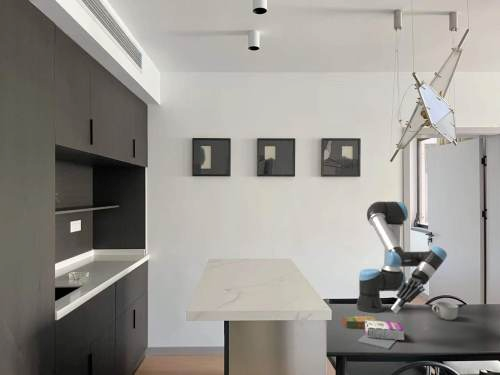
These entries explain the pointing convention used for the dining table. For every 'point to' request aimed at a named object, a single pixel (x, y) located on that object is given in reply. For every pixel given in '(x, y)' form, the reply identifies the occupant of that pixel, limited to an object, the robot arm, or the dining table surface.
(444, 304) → the teacup
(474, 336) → the dining table surface
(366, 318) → the carton
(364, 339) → the mat
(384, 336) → the candy bar box
